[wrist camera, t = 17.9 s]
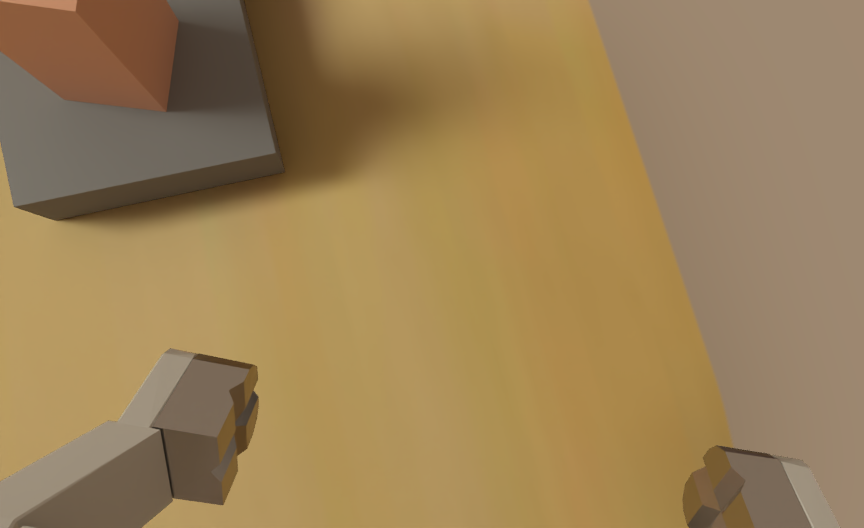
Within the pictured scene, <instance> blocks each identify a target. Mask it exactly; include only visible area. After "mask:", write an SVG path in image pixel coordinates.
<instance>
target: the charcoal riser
mask: <svg viewBox="0 0 864 528" xmlns="http://www.w3.org/2000/svg"><path fill="white" fill-rule="evenodd" d="M167 2H168V4H169V5H170V7H171V9H172V11H173V12H174V14H175V16H176V17H177V19H178V21H179V23H178V30H177V38H176V45H175V52H174V60H173V67H172V75H171V82H170V89H169V97H168V104H167V112H162V111H154V110H146V109H137V108H129V107H120V106H112V105H104V104H95V103H87V102H78V101H70V100H64V99H63V98H61V97H60V96H59V95H57V94H56V93H55V92H53V91H52V90H51V89H49V88H48V87H47V86H46V85H44V84H43V83H42V82H40V81H39V80H38V79H36V78H35V77H34V76H32V75H31V74H30V73H28V72H27V71H26V70H24V69H23V68H22V67H21V66H19V65H18V64H17V63H15V62H14V61H13V60H11V59H10V58H9V57H7V56H6V55H5V54H3V53H2V52H1V51H0V142H1V147H2V152H3V157H4V161H5V166H6V171H7V176H8V181H9V186H10V191H11V195H12V200H13V205H14V207H16V208H19V209H22V210H25V211H28V212H31V213H34V214H37V215H40V216H43V217H46V218H49V219H52V220H60V219H65V218H69V217H74V216H79V215H84V214H88V213H93V212H98V211H103V210H107V209H112V208H117V207H122V206H126V205H131V204H136V203H141V202H145V201H150V200H155V199H160V198H164V197H169V196H174V195H179V194H183V193H188V192H193V191H197V190H202V189H207V188H212V187H216V186H221V185H226V184H231V183H235V182H240V181H245V180H250V179H254V178H259V177H264V176H269V175H273V174H278V173H283V172H285V170H284V166H283V162H282V158H281V154H280V149H279V145H278V141H277V137H276V133H275V128H274V124H273V120H272V116H271V112H270V108H269V103H268V99H267V95H266V91H265V87H264V82H263V78H262V74H261V70H260V66H259V61H258V57H257V53H256V49H255V45H254V40H253V36H252V32H251V28H250V24H249V20H248V15H247V11H246V7H245V3H244V0H167Z"/></svg>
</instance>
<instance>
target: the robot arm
mask: <svg viewBox="0 0 864 528" xmlns="http://www.w3.org/2000/svg"><path fill="white" fill-rule="evenodd" d="M257 381H258V371H257V366H255V365H253V364H248V363H243V362H238V361H233V360H228V359H223V358H218V357H213V356H208V355H203V354H197V353H192V352H186V351H181V350H176V349H171V348H170V349H169V350H167V351H166V352H165V353H164V354H162V355H161V357H160V358H159V360H158V361H157V363H156V364H155V366H154V367H153V369H152V370H151V372H150V373H149V375H148V376H147V378H146V379H145V381H144V382H143V384H142V385H141V387H140V388H139V390H138V391H137V393H136V394H135V396H134V397H133V399H132V400H131V402H130V403H129V405H128V406H127V408H126V409H125V411H124V412H123V414H122V415H121V417H120V418H119V420H118V421H117V422H115V421H106V422H105V423H103V424H101V425H99V426H98V427H96V428H94V429H92V430H91V431H89V432H87V433H85V434H83V435H82V436H80V437H78V438H76V439H75V440H73V441H71V442H69V443H67V444H66V445H64V446H62V447H60V448H59V449H57V450H55V451H53V452H51V453H50V454H48V455H46V456H44V457H43V458H41V459H39V460H37V461H36V462H34V463H32V464H30V465H28V466H27V467H25V468H23V469H21V470H20V471H18V472H16V473H14V474H12V475H11V476H9V477H7V478H5V479H4V480H2V481H0V528H142V527H143V526H144V525H145V524H146V523H147V522H149V521H150V520H151V519H152V518H153V517H155V516H156V515H157V514H158V513H159V512H161V511H162V510H163V509H164V508H165V507H167V506H168V505H169V504H170V503H171V502H172V501H173V499H172V498H176V499H183V500H190V501H197V502H204V503H211V504H218V505H224V503H225V500H226V498H227V496H228V493H229V491H230V488H231V486H232V484H233V481H234V479H235V477H236V474H237V472H238V463H237V456H238V455H239V454H240V453H242V452H243V451H245V450H246V449H247V448H248V445H249V443H250V440H251V438H252V435H253V432H254V428H255V424H256V420H257V415H258V407H259V399H258V396H257V394H256V393H255V392H254V391H253V390H254V388H255V385H256V383H257ZM703 460H704V463H705V466H706V467H704V468H701V469H699V470H697V471H695V472H693V473H692V474H691V475H690V477H689V479H688V480H687V482H686V484H685V488H684V493H683V511H684V515H685V519H686V523H687V525H688V527H689V528H840V526H839V524H838V522H837V520H836V518H835V516H834V514H833V512H832V510H831V508H830V506H829V504H828V502H827V500H826V498H825V496H824V495H823V493H822V491H821V489H820V487H819V485H818V483H817V481H816V480H815V477H814V475H813V473H812V471H811V469H810V468H809V466H808V465H807V464H806V463H804V461H803V460H799V459H793V458H788V457H782V456H776V455H770V454H766V453H760V452H754V451H748V450H742V449H736V448H730V447H723V446H717V445H716V446H714V447H712V448H710V449H709V450H708V451H707V452H706V454H705V455H704V457H703Z"/></svg>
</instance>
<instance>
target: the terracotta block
mask: <svg viewBox="0 0 864 528" xmlns="http://www.w3.org/2000/svg"><path fill="white" fill-rule="evenodd" d="M178 23H179V21H178V19H177V17H176V16H175V14H174V12H173V11H172V9H171V7H170V5H169V4H168V2H167V0H0V51H1V52H2V53H3V54H5V55H6V56H7V57H9V58H10V59H11V60H13V61H14V62H15V63H17V64H18V65H19V66H21V67H22V68H23V69H24V70H26V71H27V72H28V73H30V74H31V75H32V76H34V77H35V78H36V79H38V80H39V81H40V82H42V83H43V84H44V85H46V86H47V87H48V88H49V89H51V90H52V91H53V92H55V93H56V94H57V95H59V96H60V97H61V98H63V99H64V100H70V101H78V102H87V103H95V104H104V105H112V106H120V107H129V108H137V109H146V110H154V111H162V112H167V104H168V97H169V89H170V82H171V75H172V67H173V60H174V52H175V45H176V38H177V30H178Z"/></svg>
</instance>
